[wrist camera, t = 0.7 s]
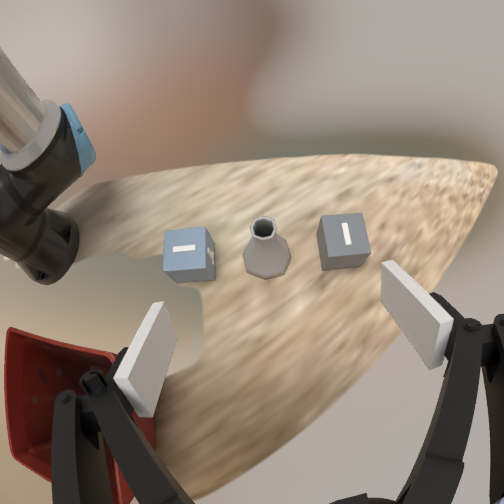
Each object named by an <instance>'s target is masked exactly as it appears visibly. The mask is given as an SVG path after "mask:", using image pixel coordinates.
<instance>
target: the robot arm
mask: <svg viewBox="0 0 504 504" xmlns="http://www.w3.org/2000/svg"><path fill="white" fill-rule="evenodd" d="M0 151H1V153H0V158H1V163H2V164H1V165H0V254H2V255H4V256H6V257H8V258H9V259H12V260H13V261H15V262H17V263H18V265H19V266H20V267H21V268H22V269H23V270H24V272H25V273H26V274H27V275H28V276H29V277H30V278H31V279H32V280H34V281H36V282H38V283H40V284H43V285H50V284H53V283H55V282H57V281H58V280H59V279H61V278H62V277H63V276H64V275H65V273H66V272H67V271H68V269H69V268H70V266H71V264H72V263H73V260H74V258H75V255H76V252H77V249H78V243H79V232H78V228H77V225H76V223H75V221H74V220H73V219H72V218H70V217H69V216H68V215H67V214H65V213H63V212H61V211H57V210H53V209H49V208H47V207H48V205H50V203H52V202H53V201H54V200H55V199H56V198H57V197H58V196H59V195H60V194H61V193H62V192H64V191H65V190H66V189H67V188H68V187H69V186H70V185H71V184H72V183H73V182H75V181H76V180H77V179H78V178H80V177H81V176H82V175H83V173H84V172H85V171H86V170H87V169H88V168H89V167H90V166H91V165H92V164H93V163H94V162H95V159H96V153H95V150H94V148H93V146H92V144H91V142H90V140H89V138H88V136H87V134H86V133H85V131H84V129H83V127H82V125H81V123H80V121H79V119H78V117H77V115H76V114H75V112H74V110H73V108H72V107H71V105H70V104H69V103H65V104H64V105H61V106H60V107H59V106H58V105H57V104H56V103H55V102H54V101H50V100H45V101H40V99H39V98H38V97H37V96H36V94H35V93H34V92H33V90H32V89H31V88H30V87H29V85H28V84H27V83H26V82H25V80H24V79H23V77H22V76H21V75H20V74H19V72H18V71H17V70H16V68H15V67H14V66H13V64H12V63H11V61H10V60H9V59H8V57H7V56H6V54H5V53H4V52H3V51H2V49H1V47H0ZM381 303H382V304H383V305H384V307H385V308H386V309H387V311H388V312H389V313H390V315H391V316H392V318H393V319H394V320H395V322H396V323H397V324H398V326H399V327H400V329H401V330H402V331H403V333H404V334H405V335H406V337H407V338H408V339H409V341H410V343H411V344H412V345H413V347H414V348H415V350H416V351H417V353H418V354H419V356H420V357H421V359H422V360H423V362H424V363H425V365H426V366H427V368H428V369H429V370H431V369H434V368H436V367H439V366H441V365H442V363H443V360H444V356H445V357H446V358H447V360H448V364H447V367H446V370H445V374H444V376H443V377H444V380H443V384H442V388H441V392H440V395H439V399H438V402H437V405H436V409H435V412H434V415H433V418H432V421H431V424H430V427H429V430H428V433H427V435H426V438H425V440H424V443H423V446H422V448H421V451H420V453H419V455H418V458H417V460H416V463H415V465H414V467H413V469H412V472H411V474H410V476H409V478H408V480H407V482H406V484H405V486H404V487H403V489H402V491H401V492H400V494H399V496H398V498H397V499H396V501H393V500H389V499H384V498H368V497H367V493H364V494H361V495H357V496H353V497H349V498H345V499H341V500H337V501H335V502H332V503H330V504H451V502H452V500H453V498H454V495H455V493H456V489H457V487H458V484H459V482H460V479H461V476H462V473H463V469H464V463H463V462H462V460H463V456H464V452H465V449H466V445H467V441H468V437H469V433H470V429H471V424H472V420H473V415H474V409H475V404H476V398H477V392H478V384H479V376H480V367H482V372H483V377H484V384H485V390H486V398H487V406H488V415H489V429H490V454H491V455H490V459H491V461H490V462H491V463H490V464H491V465H490V495H489V496H490V504H504V314H499V315H497V316H496V317H495V319H494V323H493V324H489V325H482V324H481V323H480V322H479V321H477V320H476V319H472V318H466V319H465V318H464V317H463V316H462V315H461V314H460V313H459V312H458V311H457V310H456V309H455V308H454V307H453V306H451V305H450V303H449V302H447V301H446V300H445V299H444V298H443V297H442V296H441V295H439V294H436V293H434V292H433V293H430V294H428V293H427V292H426V291H425V290H424V289H423V288H422V287H421V286H420V285H419V284H418V283H417V282H416V281H415V280H414V279H413V278H412V277H410V276H409V275H408V274H407V273H406V272H405V271H404V270H403V269H402V268H401V267H400V266H398V265H397V264H396V263H395V262H394V261H393V260H390V261H386V262H381ZM177 339H178V336H177V334H176V331H175V328H174V326H173V323H172V321H171V318H170V316H169V313H168V310H167V307H166V305H165V302H164V301H163V302H157V303H153V304H152V306H151V308H150V309H149V311H148V313H147V315H146V317H145V318H144V320H143V322H142V324H141V326H140V328H139V329H138V331H137V333H136V335H135V337H134V339H133V341H132V343H131V344H130V346H129V347H125V348H124V349H122V350H121V351H120V352H119V353H118V355H117V357H116V359H115V361H114V362H113V364H112V366H111V368H110V370H109V372H108V374H107V375H106V377H105V375H104V374H103V372H102V371H101V370H98V369H93V370H90V371H88V372H86V373H85V374H84V375H83V376H82V377H81V379H80V386H81V387H82V388H83V390H84V391H85V393H86V394H87V395H82V396H77V395H76V393H75V392H74V391H73V390H65V391H63V392H61V393H60V394H59V395H58V396H57V397H56V400H55V405H54V415H53V428H52V449H51V477H52V497H53V504H114V501H113V496H112V492H111V487H110V482H109V476H108V471H107V465H106V459H105V452H104V444H103V436H102V433H103V435H104V438H105V440H106V442H107V444H108V446H109V449H110V451H111V453H112V455H113V457H114V459H115V461H116V463H117V465H118V467H119V469H120V471H121V473H122V474H123V476H124V478H125V480H126V482H127V484H128V485H129V487H130V489H131V491H132V492H133V494H134V496H135V497H136V499H137V501H138V502H139V504H195V503H194V502H193V501H192V499H191V498H190V497H189V496H188V495H187V493H186V492H185V491H184V490H183V489H182V487H181V486H180V485H179V484H178V482H177V481H176V480H175V478H174V477H173V476H172V474H171V473H170V472H169V470H168V469H167V468H166V466H165V465H164V464H163V462H162V461H161V459H160V458H159V457H158V455H157V454H156V452H155V451H154V449H153V448H152V446H151V445H150V443H149V442H148V440H147V439H146V437H145V436H144V434H143V432H142V431H141V429H140V428H139V426H138V424H137V423H136V421H135V419H134V418H133V417H132V414H133V411H134V410H135V412H136V413H137V415H138V416H139V417H153V415H154V412H155V408H156V405H157V402H158V399H159V395H160V392H161V389H162V386H163V382H164V379H165V376H166V373H167V370H168V367H169V364H170V360H171V358H172V354H173V351H174V348H175V345H176V342H177Z"/></svg>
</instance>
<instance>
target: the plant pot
mask: <svg viewBox="0 0 504 504" xmlns="http://www.w3.org/2000/svg"><path fill="white" fill-rule="evenodd" d="M116 357H117V354H114V353H110V352H106V351H101V350H96V349H91V348H86V347H81V346H76V345H72V344H68V343H63V342H59V341H55V340H52V339H48V338H44V337H41V336H37V335H34V334H31V333H28V332H25V331H22V330H19V329H16V328H13V327H10V328H9V329H8V330H7V334H6V344H5V364H4V390H5V409H6V421H7V430H8V439H9V446H10V450H11V453H12V456H13V457H14V458H15V459H16V460H17V461H18V462H20V463H21V464H22V465H24V466H26V467H27V468H28V469H30V470H31V471H33V472H34V473H36V474H38V475H39V476H41V477H43V478H44V479H46V480H47V481H49V482H51V483H52V477H51V449H52V428H53V415H54V405H55V400H56V397H57V396H58V395H59V394H60V393H61V392H63V391H65V390H73V391H74V392H75V393H76V395H77V396H82V395H87V394H86V393H85V391H84V390H83V388H82V387H81V386H80V379H81V377H82V376H83V375H84V374H85V373H86V372H88V371H90V370H93V369H98V370H101V371H102V372H103V374H104V375H105V377H106V375H107V374H108V372H109V370H110V368H111V366H112V364H113V362H114V361H115V359H116ZM132 417H133V418H134V419H135V421H136V423H137V424H138V426H139V428H140V429H141V431H142V432H143V434H144V436H145V437H146V439H147V440H148V442H149V443H150V445H151V446H152V448H153V449H155V412H154V415H153V417H139V416H138V415H137V413H136V412H135V410H134V411H133V414H132ZM102 436H103V444H104V452H105V459H106V465H107V471H108V476H109V482H110V487H111V492H112V496H113V501H114V504H130V502H131V501H132V499H133V498H134V494H133V492H132V491H131V489H130V487H129V485H128V484H127V482H126V480H125V478H124V476H123V474H122V473H121V471H120V469H119V467H118V465H117V463H116V461H115V459H114V457H113V455H112V453H111V451H110V449H109V446H108V444H107V442H106V440H105V438H104V435H103V433H102Z"/></svg>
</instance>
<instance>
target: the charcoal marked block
mask: <svg viewBox="0 0 504 504" xmlns="http://www.w3.org/2000/svg"><path fill="white" fill-rule="evenodd" d="M317 240H318V246H319V253H320V260H321V266H322V271H324V270H334V269H343V268H353V267H360V266H361V265H362V264H363V262H364V261H365V260H366V259H367V257H368V256H369V255H370V254H371V249H370V245H369V240H368V236H367V231H366V227H365V223H364V219H363V215H362V213H354V214H340V215H326V216H321V219H320V223H319V227H318V230H317Z"/></svg>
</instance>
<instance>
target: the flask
mask: <svg viewBox="0 0 504 504" xmlns="http://www.w3.org/2000/svg"><path fill="white" fill-rule="evenodd" d="M250 229H251V233H252V237H251V239H250V241H249V243H248V245H247V247H246V249H245V251H244V253H243V257H244V262H245V266H246V270H247V272H248V273H250V274H253V275H255V276H258V277H260V278H263V279H268V278H272V277H276V276H280V275H284V273H285V271H286V268H287V266H288V264H289V261H290V259H291V255H290V252H289V249H288V245H287V242H286V240H285V239H283V238H282V237H280V236H279V235H278V234H276V231H277V227H276V224H275V220H274V219H272V218H269V217H266V216H262V217H258V218H254V220H253V222H252V224H251V226H250Z"/></svg>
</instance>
